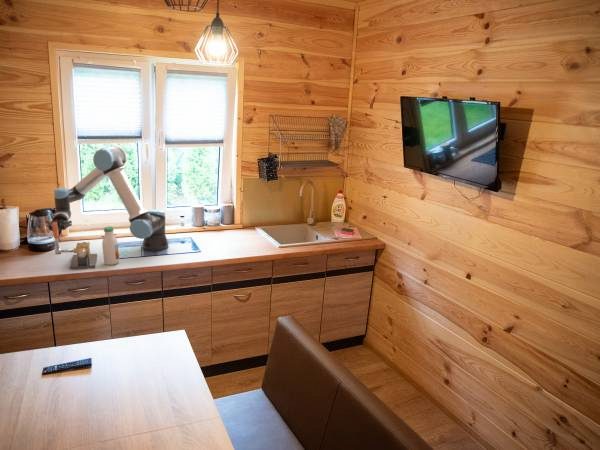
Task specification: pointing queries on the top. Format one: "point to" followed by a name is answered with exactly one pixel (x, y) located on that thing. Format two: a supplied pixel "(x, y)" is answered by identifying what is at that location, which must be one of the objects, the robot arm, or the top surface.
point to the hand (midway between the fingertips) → (54, 231)
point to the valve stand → (83, 257)
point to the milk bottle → (110, 247)
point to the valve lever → (56, 235)
